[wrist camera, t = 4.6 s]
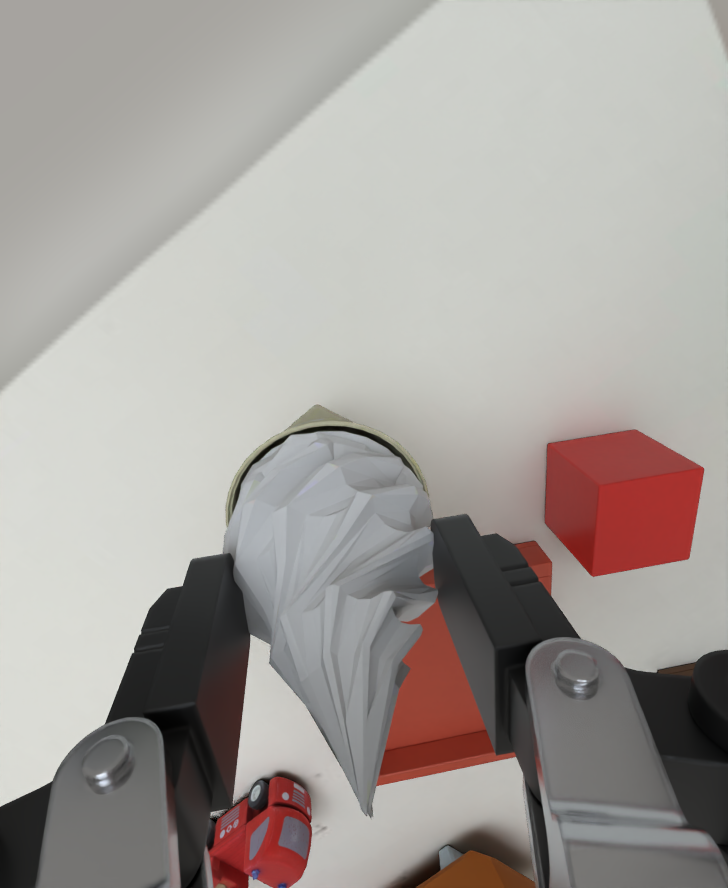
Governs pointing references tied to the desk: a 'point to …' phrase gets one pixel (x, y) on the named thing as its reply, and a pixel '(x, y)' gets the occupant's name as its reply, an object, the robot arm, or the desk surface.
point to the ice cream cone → (335, 574)
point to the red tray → (441, 699)
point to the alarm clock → (474, 872)
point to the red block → (621, 501)
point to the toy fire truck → (262, 837)
